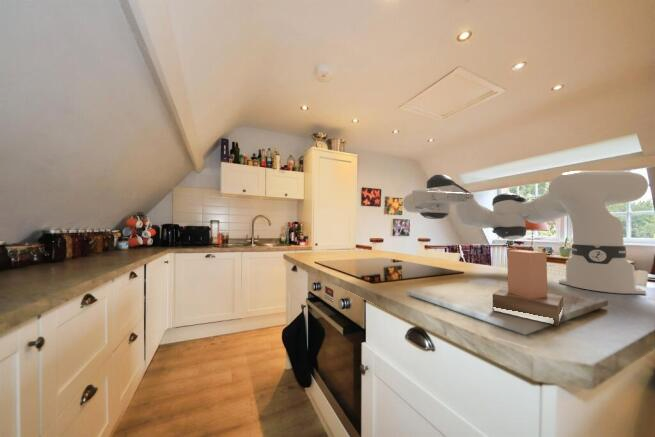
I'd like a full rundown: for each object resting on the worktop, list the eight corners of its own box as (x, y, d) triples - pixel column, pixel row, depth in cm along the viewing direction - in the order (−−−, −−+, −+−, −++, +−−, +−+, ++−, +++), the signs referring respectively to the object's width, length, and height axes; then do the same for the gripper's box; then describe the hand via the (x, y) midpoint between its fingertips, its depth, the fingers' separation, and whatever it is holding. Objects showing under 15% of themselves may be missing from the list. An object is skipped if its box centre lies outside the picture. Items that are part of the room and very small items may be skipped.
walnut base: (504, 301, 63) (504, 286, 63) (563, 313, 55) (562, 295, 55) (492, 311, 56) (492, 293, 56) (558, 326, 47) (557, 305, 48)
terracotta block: (508, 292, 57) (507, 250, 58) (524, 291, 58) (523, 250, 59) (530, 298, 52) (529, 252, 53) (547, 297, 53) (546, 252, 54)
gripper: (455, 208, 93) (486, 205, 80) (408, 207, 89) (433, 204, 75) (455, 192, 94) (486, 187, 80) (408, 190, 89) (433, 184, 75)
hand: (460, 195), depth 78 cm, fingers open, 8 cm apart
